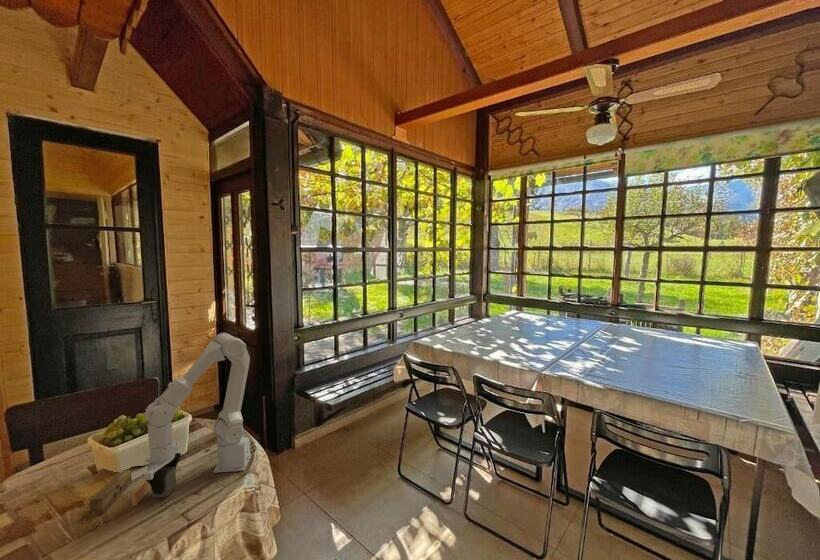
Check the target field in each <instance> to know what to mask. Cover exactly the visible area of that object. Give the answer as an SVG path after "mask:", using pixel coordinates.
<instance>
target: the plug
mask: <svg viewBox="0 0 820 560" xmlns="http://www.w3.org/2000/svg"><path fill="white" fill-rule="evenodd" d="M160 470H162V471H167V470H168V472H167V474H166V477H165V483H164V492H163V493H162V494H154V492H153V490H152V487H151V488H150V489H148V492H147V493H151V498H152V499H153V498H164V497H166V498H167V497H168V496H169V495H170V494H171V492H172V491H174V488H175V487H176V486H177V475H176V471H175V466H169V467H162V468H160Z"/></svg>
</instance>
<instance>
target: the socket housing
mask: <svg viewBox="0 0 820 560" xmlns="http://www.w3.org/2000/svg"><path fill="white" fill-rule="evenodd" d="M122 471H123V472H121V473H118V472H117V473H116V474H115V475H114V476H113V477H112V478H111V479H109V481H108V482H107V483H105V484H104V486H103V487H101V488H100V489H99V490H98V491H97V492H96V493H95V494H94V495H93V496H92V497H90V499H89V506H90V507H89V508H90V514H91V516H93V515H104V514H105V513H106V512H107V511H108V510H109V509H110V508H111V506H112V505H114V503H115V502H116V501H117V500H118V499H119V498H120V497H122V495H123V494H124V493H125V492H126V491H127V490H128V488H130V486H132V485H133V478H132V470H131V469H126V471H124V470H122Z"/></svg>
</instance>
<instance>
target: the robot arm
mask: <svg viewBox="0 0 820 560" xmlns="http://www.w3.org/2000/svg"><path fill="white" fill-rule="evenodd" d="M225 357H226V358H225ZM226 359H228V360H229V361H230V363H231V365H230V366H231V367H230V370H229V371H230V372H229V376H228V381H227V387H226V392H225V396H224V397H225V398H224V402H223V407H222V409H221V411H220V412H219V413H218V417H217V419H216V420H215V422H214V424H213V427H212V429H213V432H214V433H215V434H217V439H216V449H217V452H216V453H217V465H216V466H215V468H214V469H213V474H215V473H228V472H229V473H230V472H239V471H240V472H242V470H243V471H244V470H245V469H246V467H247V465H248V463H249V461H250V460H249V459H251V458H252V455H251V442H250V441H251V440H250V437H247V436H246V437H245V436H244V432H245V428H244V427H243V426H244V425H243V422H244V419H243V415H242V412H241V410H242V405H243V400H244V395H245V390H246V389H245V388H246V383H247V378H248V372H249V368H250V361H251V357H250V354H249V352H248V349H247V344H246V343H245V342H244V341H243V340H242V339H240V338H238V337H236V336H233V335H231V334H230V333H228V332H220V333H218V334H217V335H215V336H214V338H213V339H212V340H211V341H210V342H209V343H207V346H206V347H205V349H204V351H203V352H202V353H201V354H200V356H199V357H198V358H197V359H196V360H195V362H194V363H193V364H192V365H191V367H189V369H188V370H187V372H186V373H185V374H184V375H183V376H182V377H180V378H176V379H174V381H173V382H172V381H170V382H169V383H168V384H167V388H166V389H165V390H164V391H163V393H162V394H161V395H160V396H159V397H157V398H155V399H154V401H153V402H152V403H150V404H149V405H147V407H146V408H145V412H143V416H144V419H146V420H147V429H148V430H147V431H148V440H149V452H150V456H149V457H148V458H147V459H146V462H149V463H148V465H146V466H147V467H146V470H145V471H144V472H143V474H142V478H143V481H144V480H146V481H147V482H148V483H149V484H150V486H151V487H152V490H153V492H154V494H162V493H163V492H164V483H165V477H166V474H167V472H168V470H167V471H162V470H160V468H162V467H169V466H175V472H176V470H177V465H178V463H179V461H180V458H181V457H182V455H181V454H182V453H180V452H177V451H178V450H180V443H179V442H174V435H173V425H172V420H173V419H174V417H175V412H176V410H177V409H178V407H179V406H180V405H181V404H182V403H183V402H184V401H185V400H186V399H187V397H188V396H189V395H190V394H191V392H192V391H193V389H194V387H193V385H194V383H196V381H197V380H198V379H199V378H200V377H201V376H202V375H203V374H204V373H205V372H206V371H207V370H208V369H209V368H210V366H211V365H212V364H214V363H216V362H221V361H226Z"/></svg>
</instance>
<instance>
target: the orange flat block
mask: <svg viewBox="0 0 820 560" xmlns="http://www.w3.org/2000/svg"><path fill="white" fill-rule="evenodd" d="M148 489H151V486H150V484H149V483H148V482H147V481H146V480H144V479H143V480H142V482H141V483H140V484H139V485H138V486H137V487H136V488H135V489H134V491H132V492H131V494H130V495H131V506H137V505H138V504H139V502H140V501H142V500H143V498H144V497H145V495H147V493H149V492H148Z"/></svg>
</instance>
